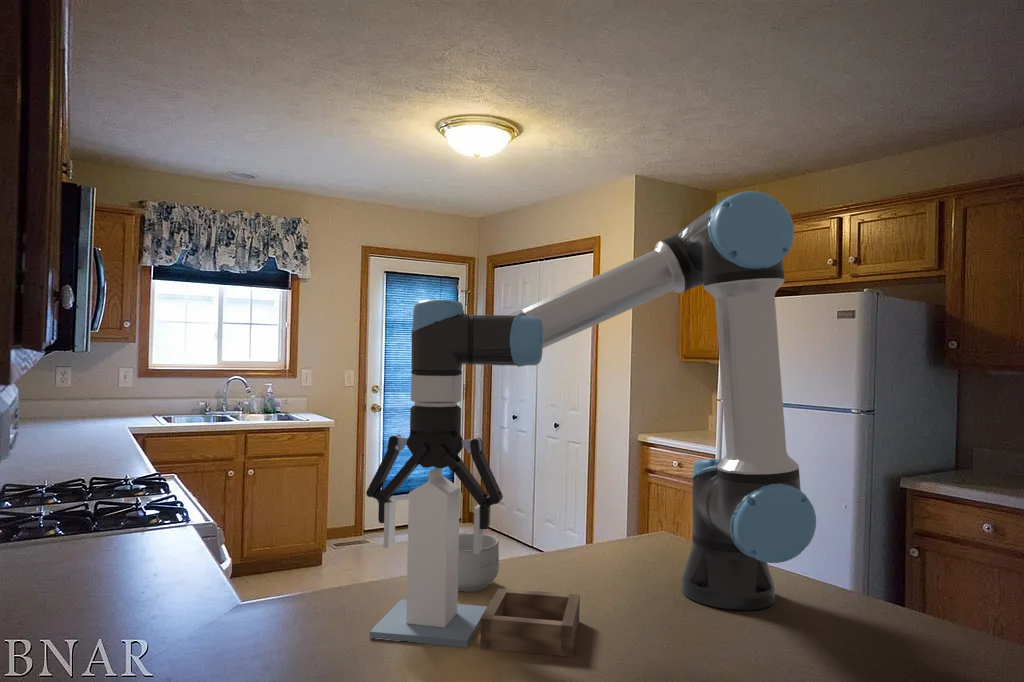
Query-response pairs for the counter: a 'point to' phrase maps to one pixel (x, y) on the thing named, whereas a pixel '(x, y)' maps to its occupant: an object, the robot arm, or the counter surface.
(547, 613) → the frame
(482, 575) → the teacup
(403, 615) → the board
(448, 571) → the milk
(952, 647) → the counter surface
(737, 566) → the robot arm
